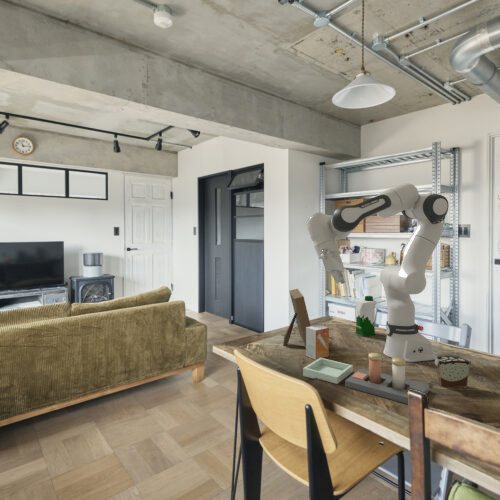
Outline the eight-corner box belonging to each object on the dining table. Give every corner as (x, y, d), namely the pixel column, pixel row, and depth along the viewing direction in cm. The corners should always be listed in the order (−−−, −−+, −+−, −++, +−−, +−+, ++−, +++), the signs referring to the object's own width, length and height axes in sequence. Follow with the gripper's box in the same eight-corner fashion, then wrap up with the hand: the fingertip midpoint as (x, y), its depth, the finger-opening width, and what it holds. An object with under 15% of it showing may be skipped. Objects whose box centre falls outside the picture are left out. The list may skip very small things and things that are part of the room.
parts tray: (303, 375, 135) (303, 368, 135) (320, 364, 146) (320, 357, 146) (337, 385, 126) (337, 377, 126) (352, 372, 137) (352, 365, 137)
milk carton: (377, 335, 185) (377, 297, 183) (362, 337, 182) (363, 298, 181) (367, 331, 193) (367, 294, 192) (352, 332, 190) (353, 295, 189)
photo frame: (308, 335, 187) (308, 288, 185) (315, 349, 165) (315, 296, 163) (280, 335, 187) (279, 288, 185) (284, 349, 165) (283, 296, 163)
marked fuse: (378, 382, 127) (378, 352, 127) (383, 387, 123) (383, 356, 122) (366, 382, 127) (366, 352, 126) (370, 388, 123) (371, 357, 122)
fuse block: (345, 387, 125) (345, 380, 124) (360, 374, 135) (360, 367, 135) (418, 408, 110) (418, 400, 109) (428, 392, 120) (429, 384, 120)
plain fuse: (401, 388, 122) (402, 357, 122) (407, 394, 118) (408, 362, 117) (389, 388, 122) (389, 357, 121) (394, 394, 118) (395, 362, 117)
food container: (460, 379, 130) (460, 353, 129) (471, 387, 124) (471, 359, 123) (427, 380, 130) (427, 354, 129) (436, 388, 123) (437, 360, 123)
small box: (315, 360, 151) (315, 330, 150) (305, 356, 156) (305, 327, 156) (329, 356, 155) (329, 327, 155) (318, 352, 161) (318, 324, 160)
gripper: (329, 244, 133) (343, 278, 129) (340, 250, 151) (352, 281, 147) (313, 251, 135) (327, 285, 131) (326, 256, 153) (338, 286, 150)
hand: (340, 282), depth 139 cm, fingers open, 8 cm apart
